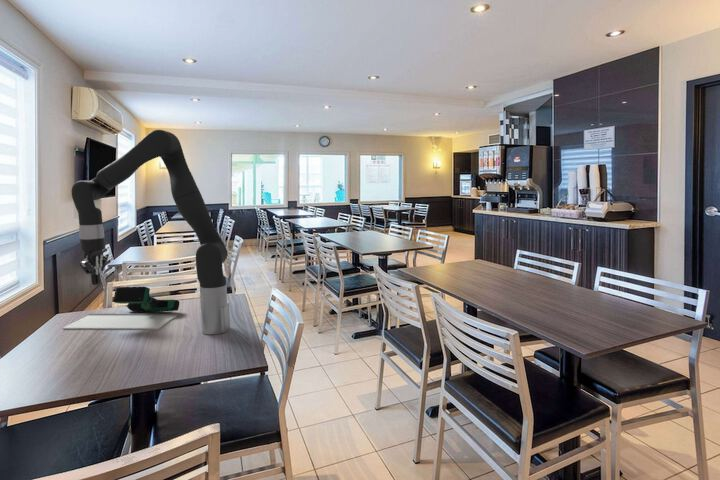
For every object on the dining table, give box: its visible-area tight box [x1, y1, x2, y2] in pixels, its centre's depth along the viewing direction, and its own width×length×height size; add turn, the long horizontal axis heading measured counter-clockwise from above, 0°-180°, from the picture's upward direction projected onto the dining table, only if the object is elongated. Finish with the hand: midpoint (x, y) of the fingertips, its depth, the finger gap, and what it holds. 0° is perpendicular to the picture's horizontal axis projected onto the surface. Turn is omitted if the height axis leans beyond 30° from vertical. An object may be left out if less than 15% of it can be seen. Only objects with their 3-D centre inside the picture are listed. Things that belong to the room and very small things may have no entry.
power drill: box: [112, 286, 180, 313], centre depth 167 cm, size 6×29×25 cm
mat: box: [62, 313, 178, 330], centre depth 163 cm, size 36×16×1 cm, turn 89°
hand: (96, 284), depth 150 cm, fingers closed
